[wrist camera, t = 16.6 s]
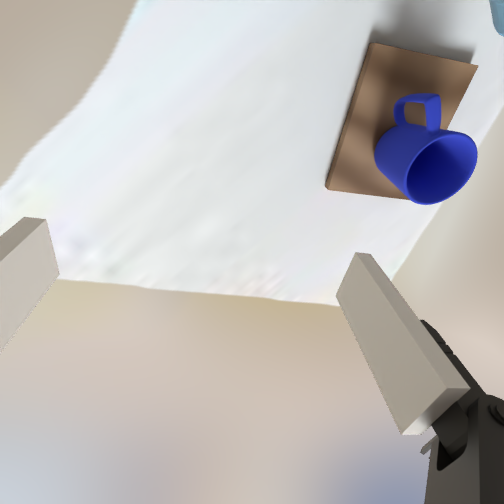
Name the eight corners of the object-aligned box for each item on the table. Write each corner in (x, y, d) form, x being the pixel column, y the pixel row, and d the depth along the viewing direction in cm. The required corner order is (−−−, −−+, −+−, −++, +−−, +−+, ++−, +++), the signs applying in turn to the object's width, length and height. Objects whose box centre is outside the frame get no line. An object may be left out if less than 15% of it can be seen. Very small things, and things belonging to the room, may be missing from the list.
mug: (421, 73, 35) (484, 78, 27) (425, 163, 42) (476, 189, 34) (357, 102, 36) (397, 115, 28) (370, 185, 43) (406, 215, 35)
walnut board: (369, 43, 34) (375, 42, 33) (469, 65, 36) (478, 65, 35) (325, 186, 44) (328, 189, 43) (406, 196, 46) (411, 200, 45)
